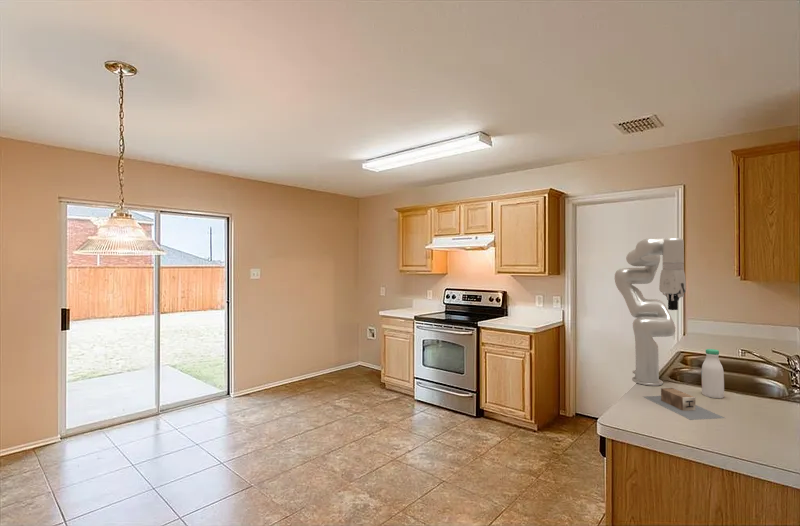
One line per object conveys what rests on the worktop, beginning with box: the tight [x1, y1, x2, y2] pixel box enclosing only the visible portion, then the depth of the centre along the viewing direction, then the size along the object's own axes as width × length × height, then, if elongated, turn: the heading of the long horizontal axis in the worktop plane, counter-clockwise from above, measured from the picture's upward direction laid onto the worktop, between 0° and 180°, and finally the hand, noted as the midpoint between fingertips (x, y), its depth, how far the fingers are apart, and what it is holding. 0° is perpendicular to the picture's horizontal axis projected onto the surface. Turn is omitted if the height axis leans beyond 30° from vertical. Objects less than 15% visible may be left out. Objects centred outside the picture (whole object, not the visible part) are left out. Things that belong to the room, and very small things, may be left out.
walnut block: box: [660, 387, 697, 411], centre depth 165 cm, size 5×5×12 cm
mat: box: [643, 395, 726, 421], centre depth 163 cm, size 26×14×1 cm, turn 5°
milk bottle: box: [701, 348, 725, 399], centre depth 176 cm, size 8×8×20 cm
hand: (672, 309), depth 174 cm, fingers closed
